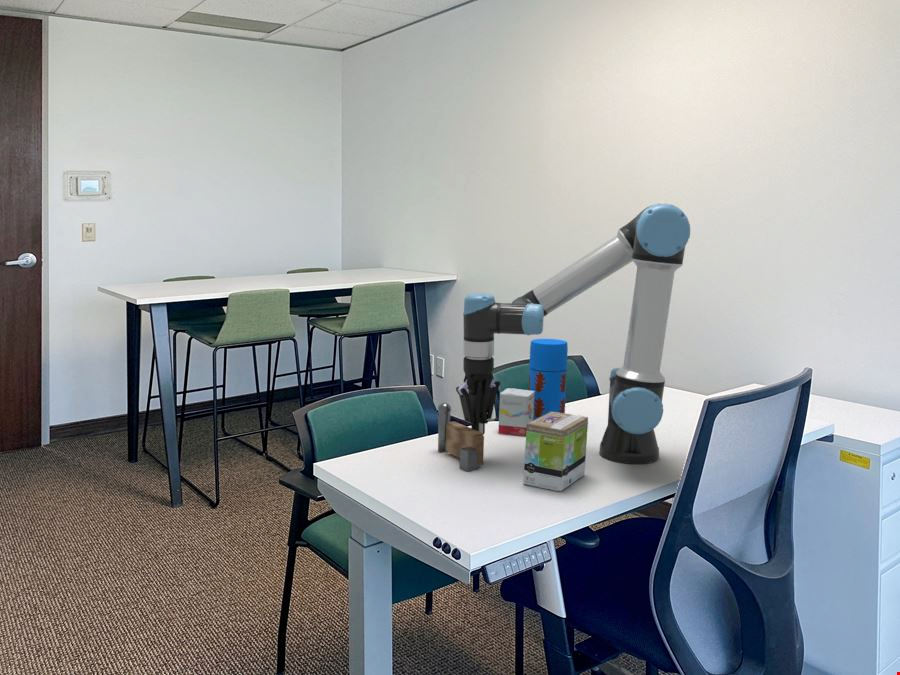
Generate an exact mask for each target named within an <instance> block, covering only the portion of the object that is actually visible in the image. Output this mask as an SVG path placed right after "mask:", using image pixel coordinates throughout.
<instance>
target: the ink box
mask: <svg viewBox="0 0 900 675" xmlns="http://www.w3.org/2000/svg"><path fill="white" fill-rule="evenodd" d="M534 397H535V391H530V390H529V389H521V388H520V389H519V388H511V387H510V388H509V387H507V388H505V389H504V390H503V391H501V392H500V393H499V406H498V408H499V410H498V434H500V435H508V434H512V435H511V436H518V437H526V429H527V423H529V422H531V421H533V415H534ZM501 433H502V434H501Z"/></svg>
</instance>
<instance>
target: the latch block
mask: <svg viewBox="0 0 900 675" xmlns="http://www.w3.org/2000/svg"><path fill="white" fill-rule="evenodd" d="M477 451H478V450H477V449H475V448H472V447H465V448H461V449H460V458H459V469H460V470H462V471H465V472H467V473H468V472H471V471H475V470H478V466H477Z"/></svg>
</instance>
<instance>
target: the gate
mask: <svg viewBox="0 0 900 675" xmlns="http://www.w3.org/2000/svg"><path fill="white" fill-rule="evenodd" d="M484 443H485V436H484V435H483V433H481V432H479V431H476V430H474V429H472V428H471V427H469V426H466V425H465V424H462V423H459V422H458V421H454V420H453V421H450V422H447V424H446V452H447V453H449V454H451V455H453V456H455V457H457V458H459V459H460V449H461V448H465V447H472V448H475V449H477V450H478V451H477V467H479V466H484V450H485V448H484V447H485V446H484V445H485V444H484Z"/></svg>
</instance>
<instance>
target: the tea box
mask: <svg viewBox="0 0 900 675" xmlns="http://www.w3.org/2000/svg"><path fill="white" fill-rule="evenodd" d="M588 425H589V417H588V416H583V415H579V414H578V415H577V414H569V413H566V412H565V413H559V412H552V411H551V412H549V413H547V414H545V415H543V416H541V417H539V418H537V419H535V420H533V421H531V422H529V423H527V429H526V436H525V444H524V445H525V446H524V464H523V467H524V469H523V479H522V481H523V482H522V484H524V485H527V486H531V487H535V488H540V489H546V490H549V489H550V490H551V491H555V492H562V491H563V490H564V489H566V488H568V487H569V486H571V485H572V484H573V483H574V482H576V481H577V480H578V479H580V478H581V477H583V476H584V475H585V470H586V460H587V459H586V456H587V441H588ZM550 490H549V491H550Z"/></svg>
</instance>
